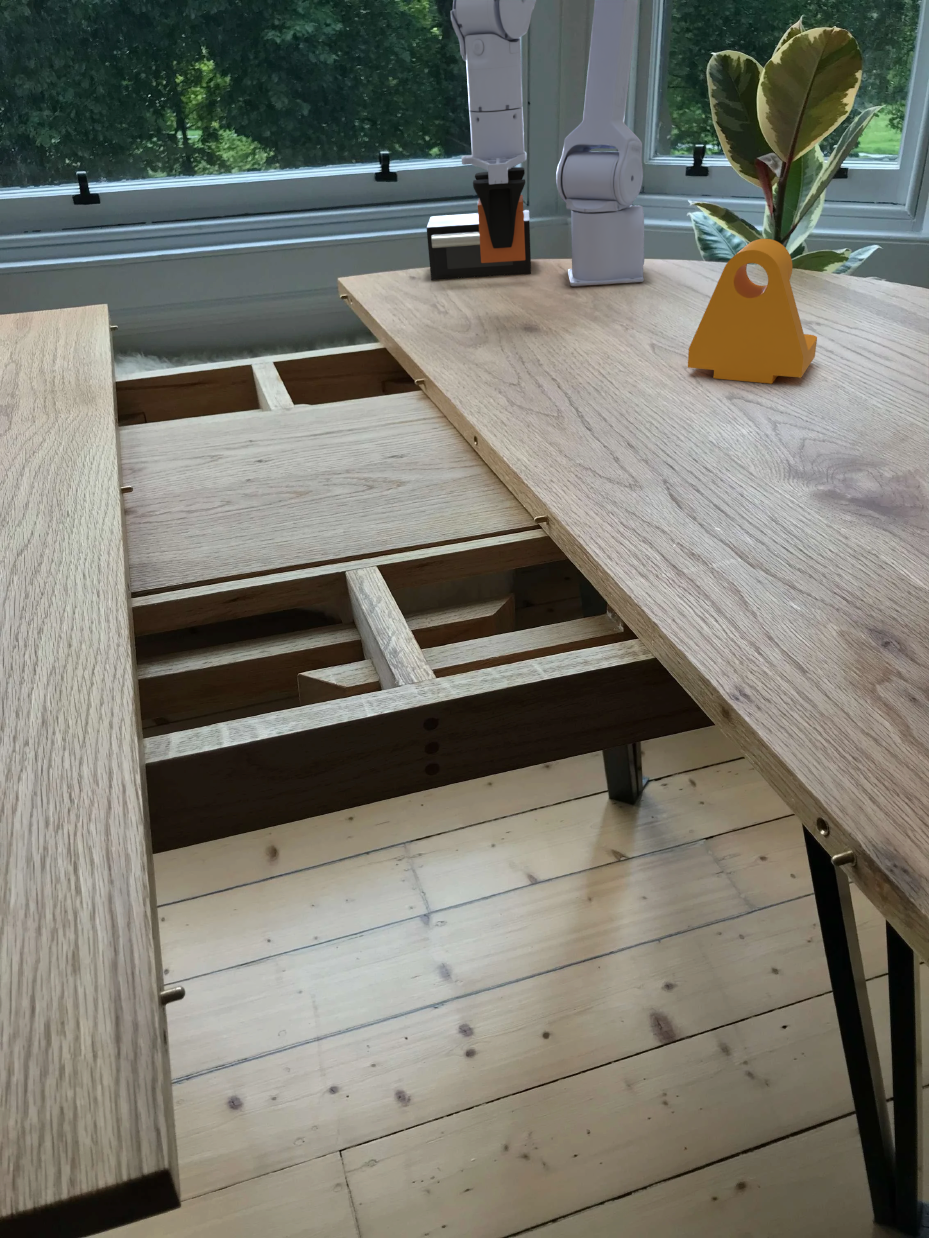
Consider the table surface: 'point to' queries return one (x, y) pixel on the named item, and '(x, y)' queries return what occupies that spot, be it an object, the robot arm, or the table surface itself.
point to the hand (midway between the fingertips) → (502, 242)
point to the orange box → (502, 254)
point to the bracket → (753, 321)
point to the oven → (467, 249)
